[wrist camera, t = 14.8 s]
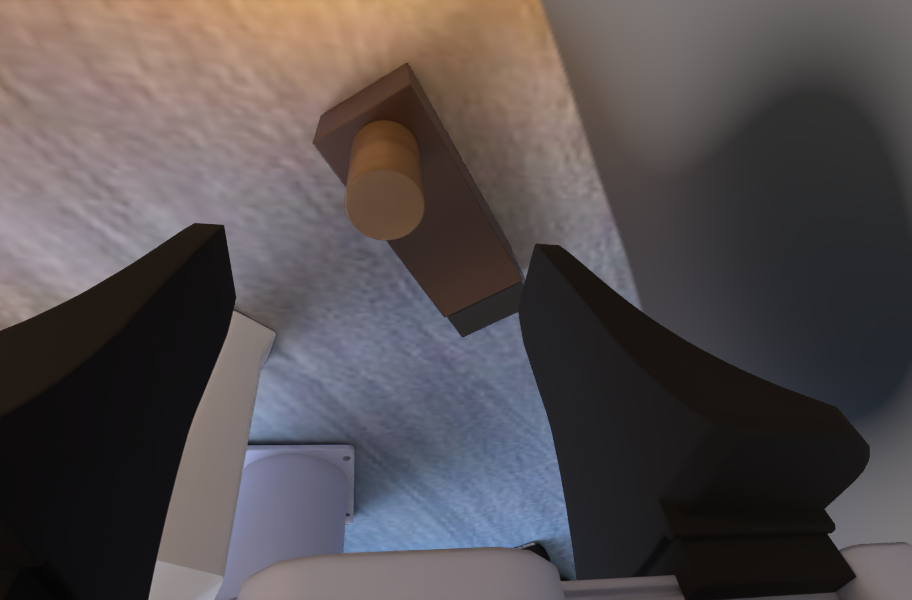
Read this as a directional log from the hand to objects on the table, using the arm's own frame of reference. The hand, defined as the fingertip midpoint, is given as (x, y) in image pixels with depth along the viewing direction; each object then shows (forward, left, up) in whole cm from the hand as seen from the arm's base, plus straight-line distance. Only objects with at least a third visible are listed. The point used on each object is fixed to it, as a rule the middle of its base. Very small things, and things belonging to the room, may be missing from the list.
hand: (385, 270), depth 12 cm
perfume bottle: (-12, +7, -11) cm, 18 cm away
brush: (-3, -2, -10) cm, 11 cm away
